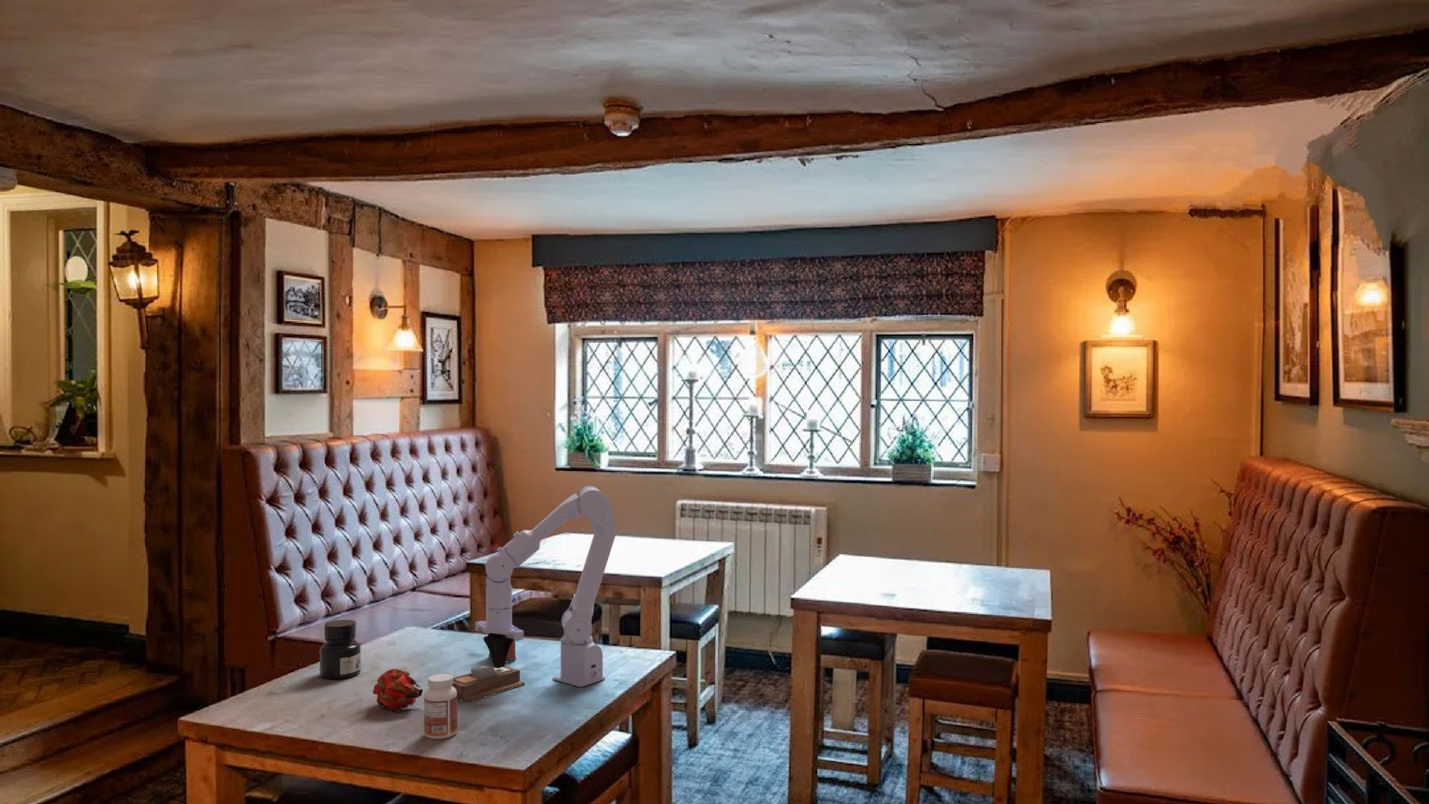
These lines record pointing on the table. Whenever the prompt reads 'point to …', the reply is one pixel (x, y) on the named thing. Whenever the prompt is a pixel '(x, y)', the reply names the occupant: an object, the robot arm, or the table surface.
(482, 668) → the key slate
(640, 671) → the table surface
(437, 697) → the pill bottle
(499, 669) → the key cream
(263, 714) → the table surface
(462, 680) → the key terracotta
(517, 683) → the keypad board
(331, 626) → the ink bottle
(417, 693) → the dragon fruit
